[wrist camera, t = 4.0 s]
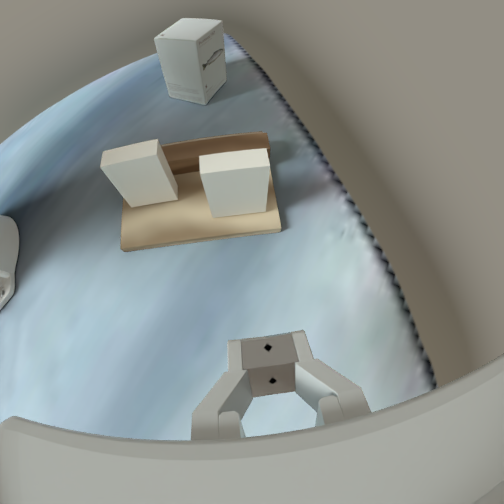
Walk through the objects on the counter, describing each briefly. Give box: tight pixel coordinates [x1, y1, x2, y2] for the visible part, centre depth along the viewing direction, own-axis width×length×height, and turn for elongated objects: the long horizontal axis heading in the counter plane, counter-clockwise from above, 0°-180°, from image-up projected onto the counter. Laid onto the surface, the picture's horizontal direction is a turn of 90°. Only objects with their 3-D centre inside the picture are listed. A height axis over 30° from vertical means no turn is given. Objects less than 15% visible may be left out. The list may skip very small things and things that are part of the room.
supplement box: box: [154, 18, 227, 105], centre depth 36 cm, size 7×7×13 cm
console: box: [120, 131, 281, 252], centre depth 33 cm, size 12×19×4 cm, turn 97°
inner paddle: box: [100, 139, 178, 208], centre depth 29 cm, size 2×6×9 cm, turn 97°
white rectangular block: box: [199, 148, 270, 218], centre depth 28 cm, size 2×6×9 cm, turn 98°
